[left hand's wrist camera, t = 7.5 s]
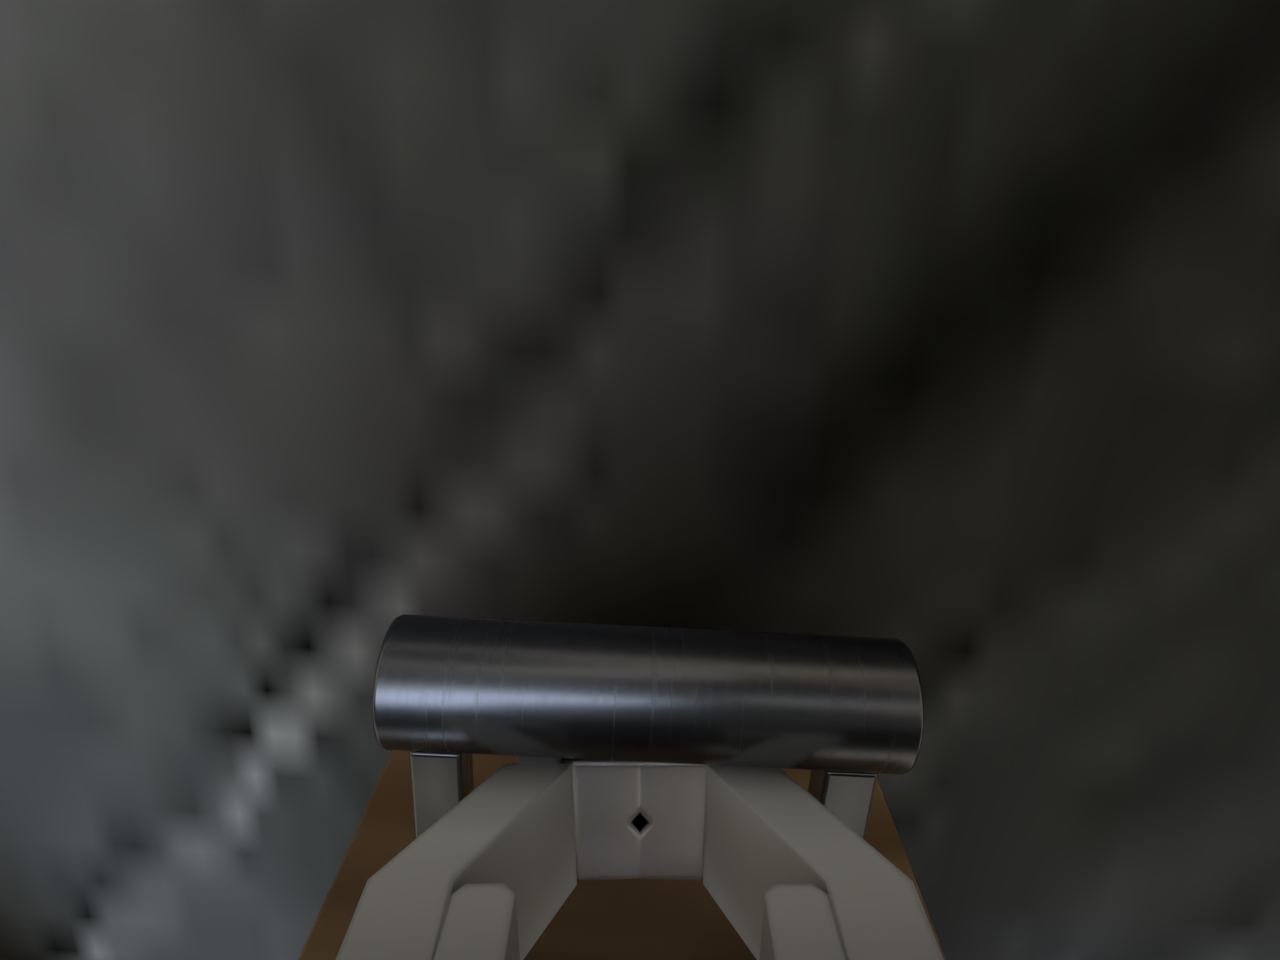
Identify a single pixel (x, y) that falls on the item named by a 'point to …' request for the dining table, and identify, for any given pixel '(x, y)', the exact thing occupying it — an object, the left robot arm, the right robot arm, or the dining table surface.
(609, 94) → the dining table surface
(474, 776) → the drawer
